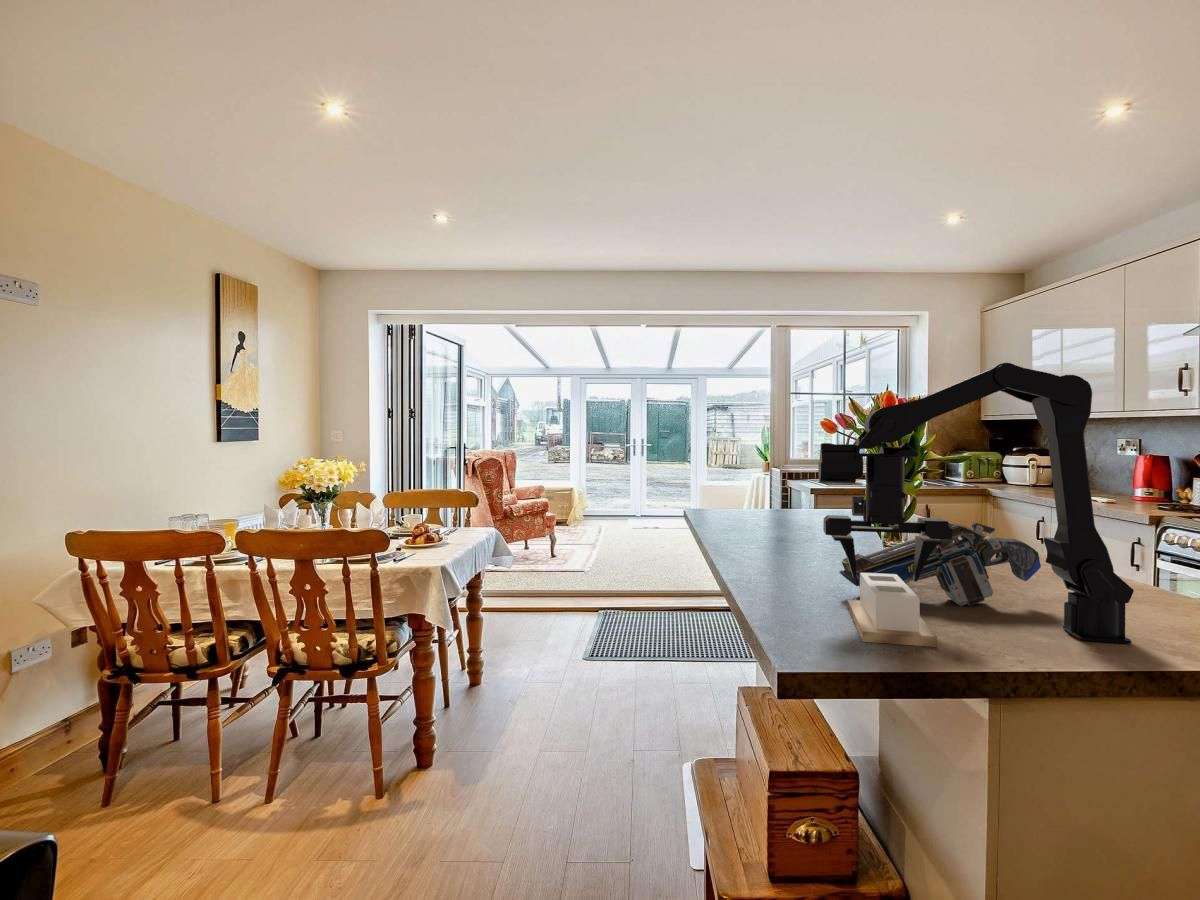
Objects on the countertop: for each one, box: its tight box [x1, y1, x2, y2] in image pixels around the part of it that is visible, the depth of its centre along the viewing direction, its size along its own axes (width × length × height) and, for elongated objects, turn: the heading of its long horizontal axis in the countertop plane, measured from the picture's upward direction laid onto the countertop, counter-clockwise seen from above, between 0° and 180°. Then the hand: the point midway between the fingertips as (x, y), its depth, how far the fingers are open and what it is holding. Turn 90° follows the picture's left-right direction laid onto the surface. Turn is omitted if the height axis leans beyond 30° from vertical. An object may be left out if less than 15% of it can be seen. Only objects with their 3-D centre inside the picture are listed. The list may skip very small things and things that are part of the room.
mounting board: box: [846, 599, 938, 648], centre depth 103 cm, size 10×20×5 cm, turn 165°
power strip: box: [859, 573, 921, 632], centre depth 104 cm, size 18×6×5 cm, turn 165°
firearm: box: [838, 522, 1042, 607], centre depth 118 cm, size 8×33×15 cm, turn 78°
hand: (884, 579), depth 104 cm, fingers open, 9 cm apart
